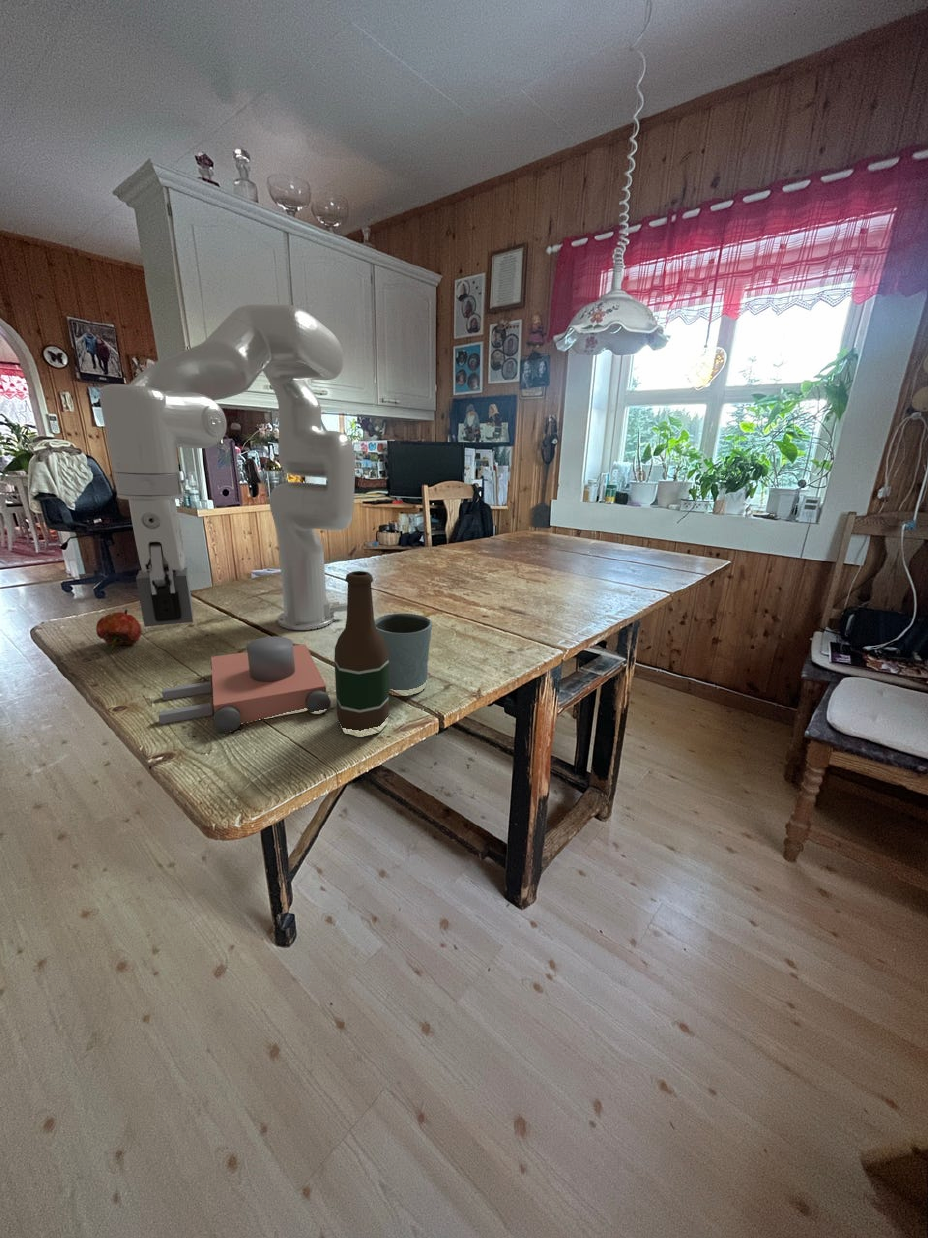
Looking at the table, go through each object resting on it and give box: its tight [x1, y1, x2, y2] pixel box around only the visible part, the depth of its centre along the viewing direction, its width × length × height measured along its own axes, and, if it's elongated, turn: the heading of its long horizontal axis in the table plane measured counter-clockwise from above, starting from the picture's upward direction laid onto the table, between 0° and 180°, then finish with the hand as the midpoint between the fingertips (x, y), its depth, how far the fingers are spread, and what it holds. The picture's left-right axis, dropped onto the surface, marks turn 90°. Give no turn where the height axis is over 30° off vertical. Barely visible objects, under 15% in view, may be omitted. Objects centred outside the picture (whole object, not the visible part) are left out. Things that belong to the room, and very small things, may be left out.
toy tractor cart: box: [157, 635, 332, 734], centre depth 79 cm, size 24×21×9 cm
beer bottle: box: [333, 570, 390, 731], centre depth 70 cm, size 8×8×24 cm
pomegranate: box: [95, 609, 143, 655], centre depth 96 cm, size 7×7×10 cm
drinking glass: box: [374, 613, 433, 690], centre depth 85 cm, size 10×10×12 cm
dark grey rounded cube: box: [135, 567, 194, 628], centre depth 70 cm, size 6×5×7 cm
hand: (169, 612), depth 71 cm, fingers closed on dark grey rounded cube, 5 cm apart
